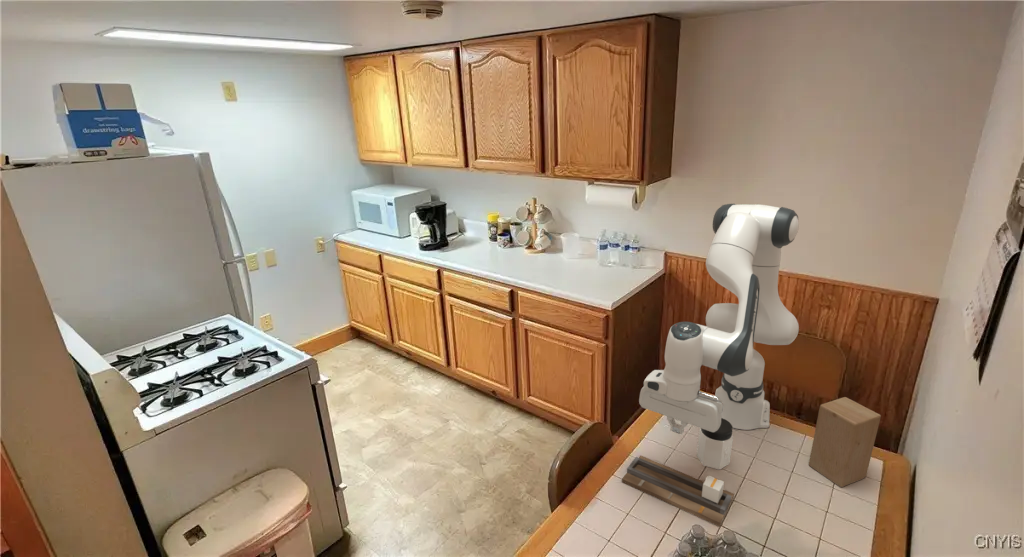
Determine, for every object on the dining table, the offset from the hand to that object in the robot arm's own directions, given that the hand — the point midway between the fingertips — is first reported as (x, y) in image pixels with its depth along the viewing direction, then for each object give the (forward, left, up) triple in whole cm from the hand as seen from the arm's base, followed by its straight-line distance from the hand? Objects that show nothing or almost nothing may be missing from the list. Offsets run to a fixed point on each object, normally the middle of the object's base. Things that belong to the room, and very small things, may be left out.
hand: (676, 431), depth 129 cm
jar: (-18, +6, -18) cm, 25 cm away
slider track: (0, +2, -17) cm, 18 cm away
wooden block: (-33, +35, -18) cm, 51 cm away
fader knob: (0, +11, -16) cm, 19 cm away
